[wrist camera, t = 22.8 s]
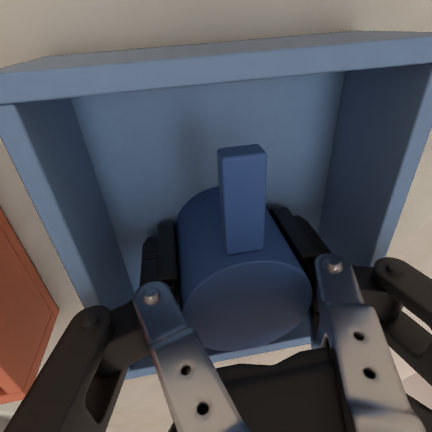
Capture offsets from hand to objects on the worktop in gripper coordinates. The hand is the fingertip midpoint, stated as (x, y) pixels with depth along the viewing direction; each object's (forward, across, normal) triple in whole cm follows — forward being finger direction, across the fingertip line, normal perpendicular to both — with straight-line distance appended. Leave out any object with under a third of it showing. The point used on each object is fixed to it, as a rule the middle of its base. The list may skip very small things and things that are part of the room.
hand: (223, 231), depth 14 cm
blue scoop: (0, 0, -2) cm, 2 cm away
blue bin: (+1, 0, -2) cm, 2 cm away
